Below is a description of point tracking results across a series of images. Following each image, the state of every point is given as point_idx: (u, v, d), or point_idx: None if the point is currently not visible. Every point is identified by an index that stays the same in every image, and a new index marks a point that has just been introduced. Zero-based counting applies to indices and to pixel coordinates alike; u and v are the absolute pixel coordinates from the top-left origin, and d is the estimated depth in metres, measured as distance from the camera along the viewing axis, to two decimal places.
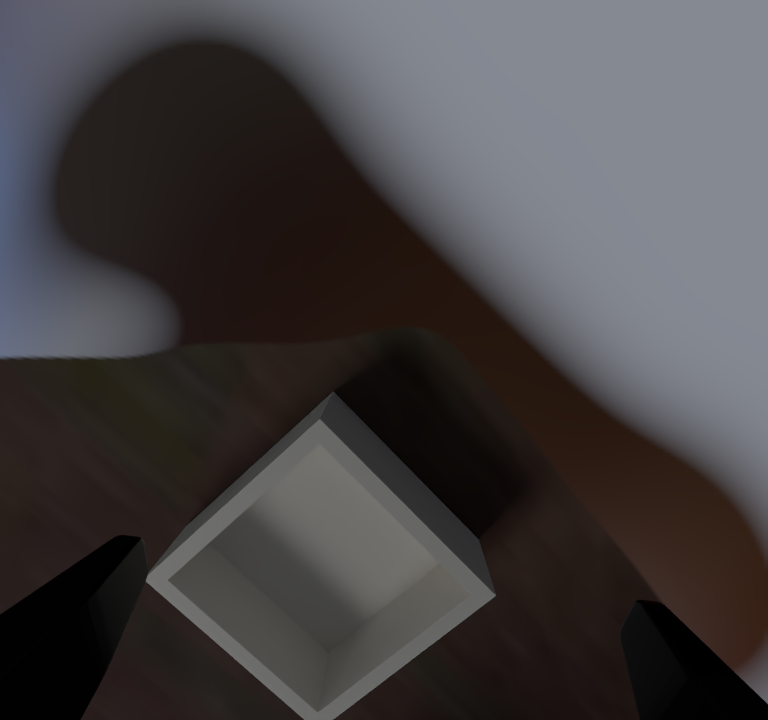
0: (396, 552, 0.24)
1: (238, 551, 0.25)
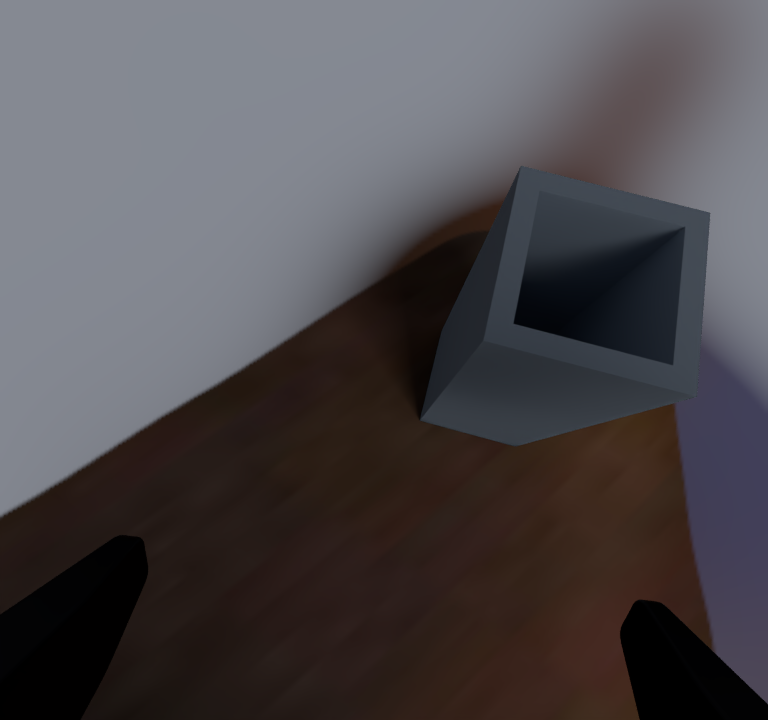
0: None
1: None
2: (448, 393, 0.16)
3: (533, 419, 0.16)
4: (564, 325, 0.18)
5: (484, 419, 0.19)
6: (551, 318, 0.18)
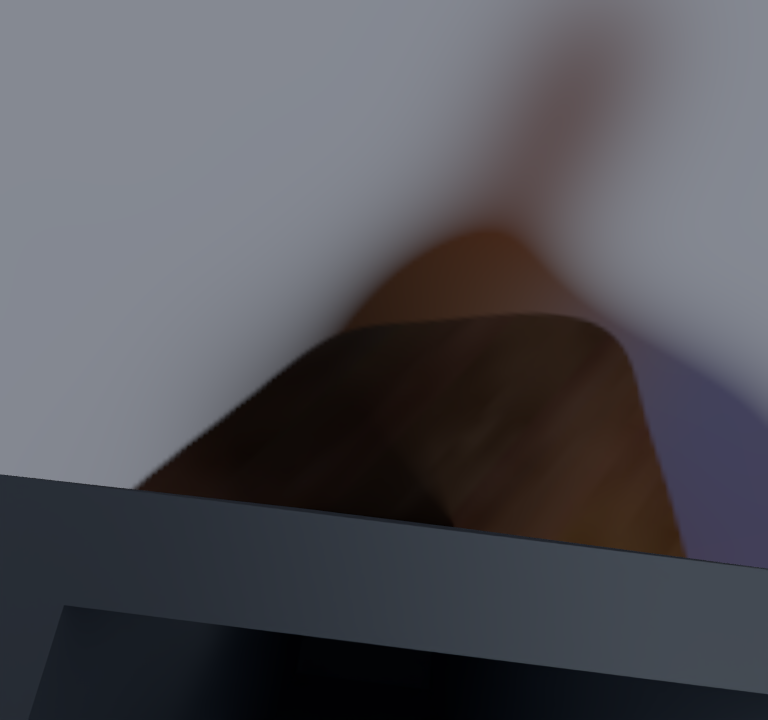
0: None
1: None
2: None
3: None
4: None
5: None
6: None
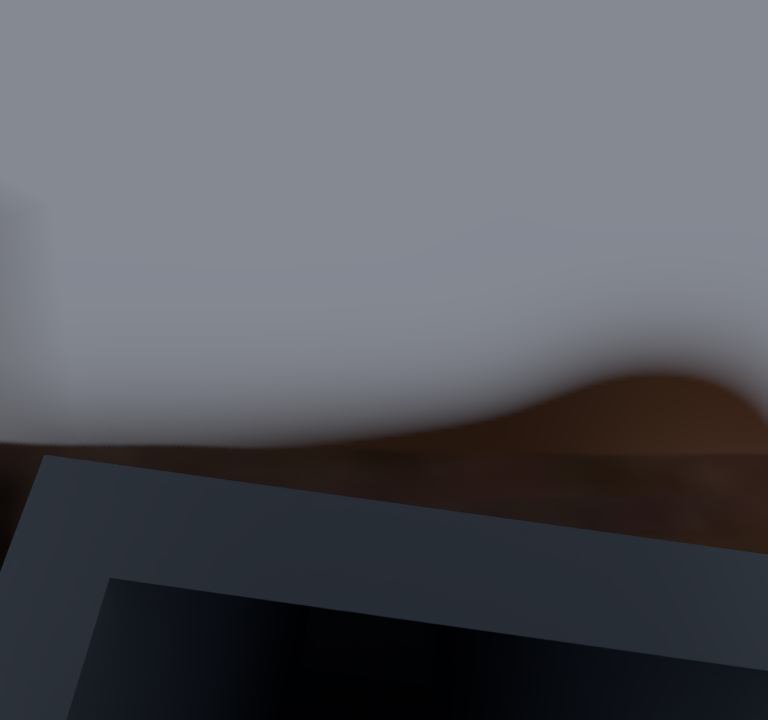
0: None
1: None
2: None
3: None
4: None
5: None
6: None
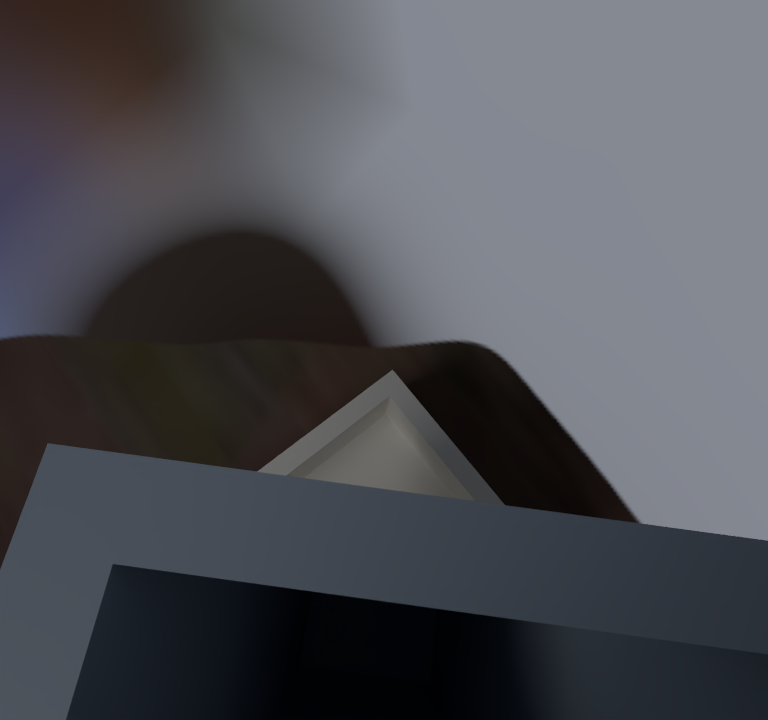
0: None
1: None
2: None
3: None
4: None
5: None
6: None
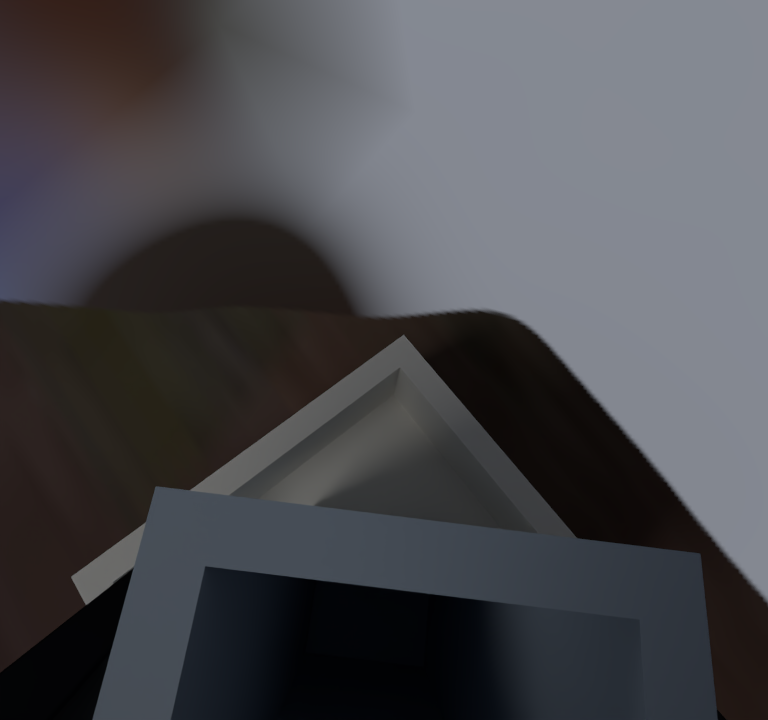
0: None
1: None
2: None
3: None
4: None
5: None
6: None
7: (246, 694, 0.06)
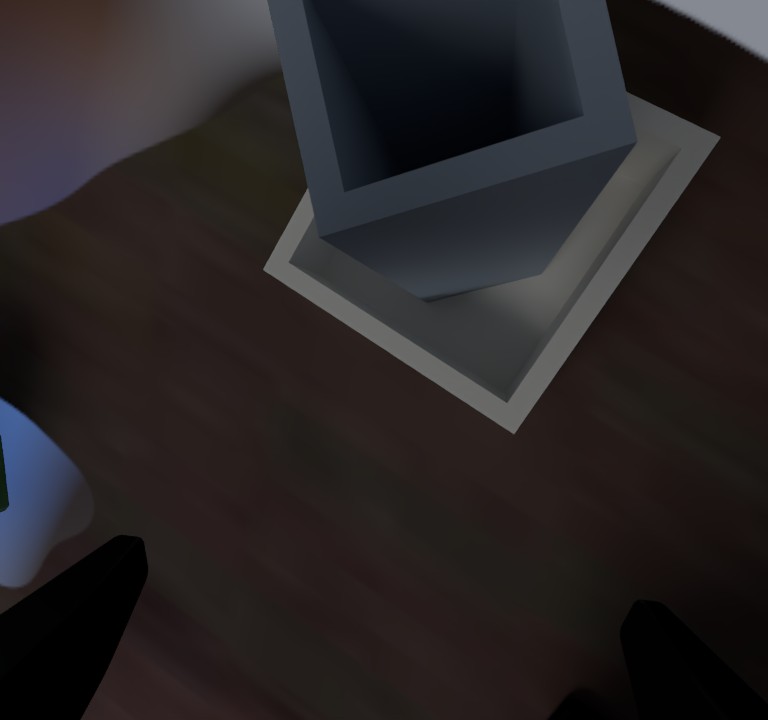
0: None
1: (366, 282, 0.21)
2: (399, 280, 0.13)
3: (511, 253, 0.13)
4: (509, 111, 0.14)
5: (472, 276, 0.15)
6: (487, 113, 0.14)
7: (370, 161, 0.11)
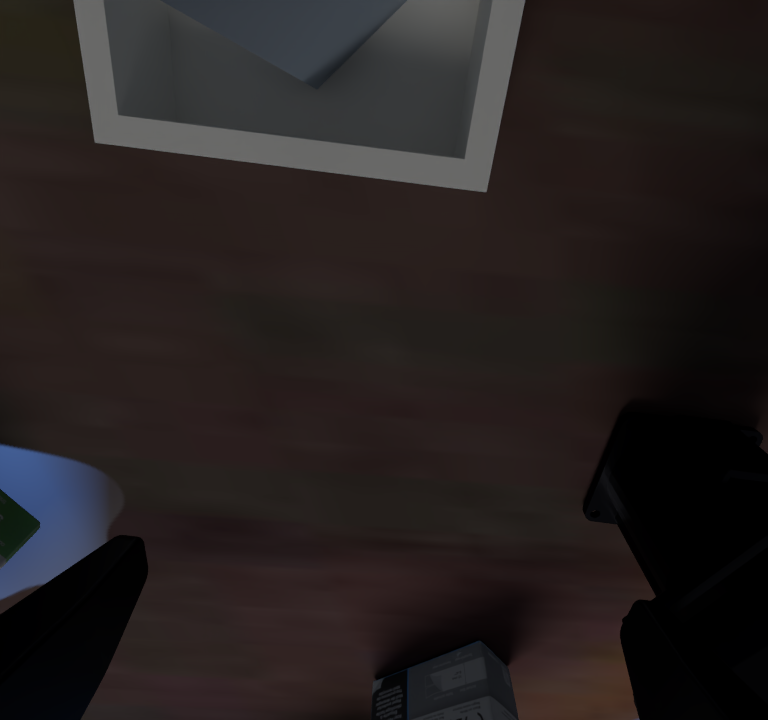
0: None
1: (233, 101, 0.16)
2: (257, 43, 0.09)
3: None
4: None
5: (351, 1, 0.11)
6: None
7: None
